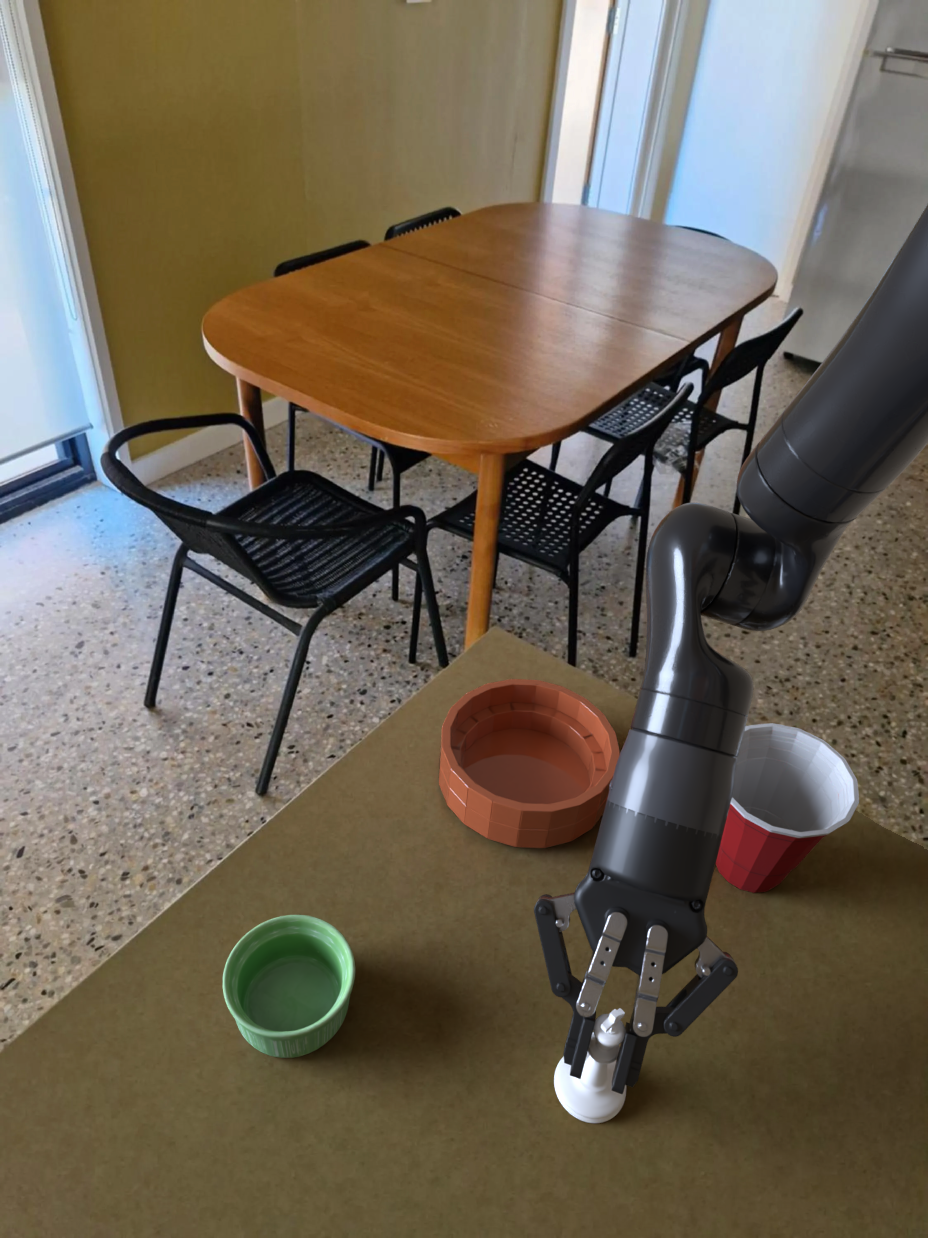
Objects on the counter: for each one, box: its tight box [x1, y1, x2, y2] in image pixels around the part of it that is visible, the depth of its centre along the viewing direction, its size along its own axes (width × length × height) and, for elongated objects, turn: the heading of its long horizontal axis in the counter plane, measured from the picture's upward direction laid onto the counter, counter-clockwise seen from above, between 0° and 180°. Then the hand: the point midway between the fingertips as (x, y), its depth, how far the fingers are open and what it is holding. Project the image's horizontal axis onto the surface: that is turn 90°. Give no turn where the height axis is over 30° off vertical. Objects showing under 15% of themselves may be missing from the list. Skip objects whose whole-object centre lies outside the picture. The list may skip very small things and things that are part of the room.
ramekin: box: [222, 914, 356, 1059], centre depth 62 cm, size 9×9×4 cm
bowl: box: [438, 678, 621, 849], centre depth 80 cm, size 16×16×6 cm
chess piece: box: [553, 1007, 627, 1124], centre depth 58 cm, size 5×5×10 cm
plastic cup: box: [715, 722, 860, 894], centre depth 72 cm, size 11×11×12 cm
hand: (596, 1079), depth 56 cm, fingers closed on chess piece
